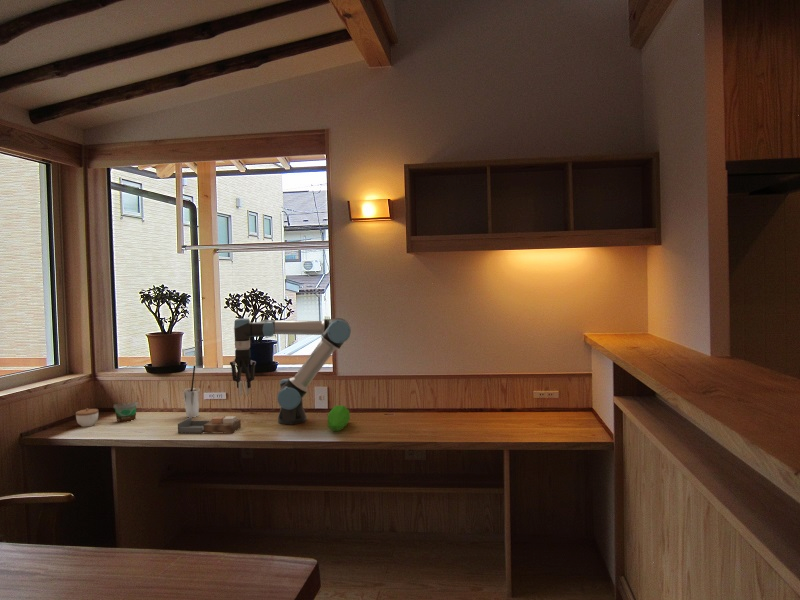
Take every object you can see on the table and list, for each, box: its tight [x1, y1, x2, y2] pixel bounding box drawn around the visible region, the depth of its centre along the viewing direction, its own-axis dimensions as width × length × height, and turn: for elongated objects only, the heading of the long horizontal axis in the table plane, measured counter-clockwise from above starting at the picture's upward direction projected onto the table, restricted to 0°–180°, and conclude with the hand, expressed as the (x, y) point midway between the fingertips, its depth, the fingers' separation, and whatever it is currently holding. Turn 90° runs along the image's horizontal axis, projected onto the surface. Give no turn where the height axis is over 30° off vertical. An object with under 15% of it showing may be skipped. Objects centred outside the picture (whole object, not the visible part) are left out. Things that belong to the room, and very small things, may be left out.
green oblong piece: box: [327, 405, 351, 432], centre depth 273 cm, size 11×12×30 cm
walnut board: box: [203, 418, 242, 434], centre depth 276 cm, size 15×11×4 cm
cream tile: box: [223, 415, 237, 424], centre depth 276 cm, size 5×5×2 cm
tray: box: [177, 417, 210, 434], centre depth 278 cm, size 13×13×5 cm
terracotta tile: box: [211, 415, 226, 424], centre depth 276 cm, size 5×5×2 cm
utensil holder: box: [181, 365, 202, 418], centre depth 304 cm, size 11×11×30 cm
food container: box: [113, 400, 139, 423], centre depth 297 cm, size 12×6×10 cm, turn 129°
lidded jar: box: [75, 407, 99, 428], centre depth 290 cm, size 11×11×9 cm
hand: (244, 394), depth 275 cm, fingers open, 3 cm apart
